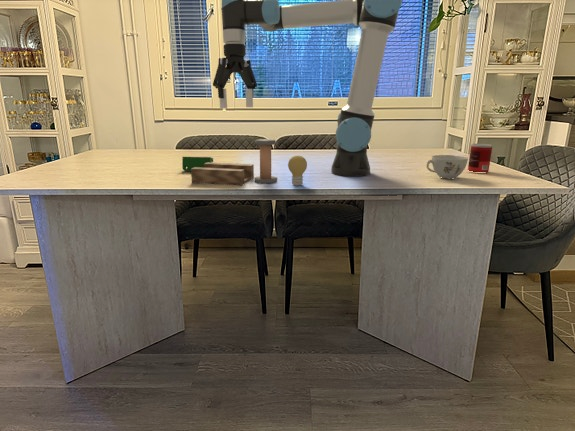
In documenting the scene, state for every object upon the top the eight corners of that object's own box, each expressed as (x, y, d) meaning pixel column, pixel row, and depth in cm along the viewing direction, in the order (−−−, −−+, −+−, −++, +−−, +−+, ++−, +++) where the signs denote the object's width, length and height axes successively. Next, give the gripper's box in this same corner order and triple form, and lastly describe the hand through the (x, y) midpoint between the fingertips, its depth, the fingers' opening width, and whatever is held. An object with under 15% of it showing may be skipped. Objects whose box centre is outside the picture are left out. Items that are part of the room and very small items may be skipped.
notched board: (253, 177, 148) (253, 164, 147) (241, 185, 135) (240, 171, 134) (208, 175, 152) (207, 162, 151) (191, 183, 139) (190, 168, 137)
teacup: (454, 174, 157) (457, 153, 155) (472, 180, 145) (475, 158, 143) (418, 175, 156) (420, 154, 153) (432, 181, 144) (435, 159, 141)
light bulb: (285, 186, 135) (285, 156, 132) (291, 182, 141) (291, 153, 138) (303, 187, 133) (303, 157, 130) (309, 183, 139) (309, 154, 136)
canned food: (489, 171, 164) (493, 144, 160) (486, 174, 157) (491, 146, 154) (469, 169, 168) (473, 143, 164) (465, 172, 161) (469, 145, 158)
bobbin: (279, 179, 145) (279, 139, 141) (273, 184, 138) (273, 141, 134) (258, 178, 147) (257, 138, 143) (251, 183, 139) (250, 141, 135)
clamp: (208, 180, 164) (217, 160, 164) (205, 180, 158) (214, 159, 158) (182, 168, 165) (191, 148, 164) (177, 167, 159) (186, 146, 158)
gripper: (250, 48, 150) (251, 106, 156) (199, 41, 131) (203, 108, 137) (265, 46, 146) (266, 106, 152) (215, 39, 127) (219, 108, 133)
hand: (237, 107), depth 145 cm, fingers open, 13 cm apart
